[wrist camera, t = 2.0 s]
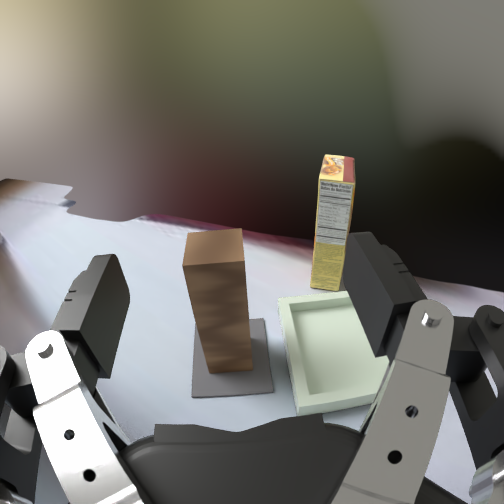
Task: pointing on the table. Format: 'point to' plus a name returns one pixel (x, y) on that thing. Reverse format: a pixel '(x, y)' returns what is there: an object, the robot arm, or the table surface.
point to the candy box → (332, 221)
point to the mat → (234, 381)
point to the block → (219, 298)
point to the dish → (328, 353)
